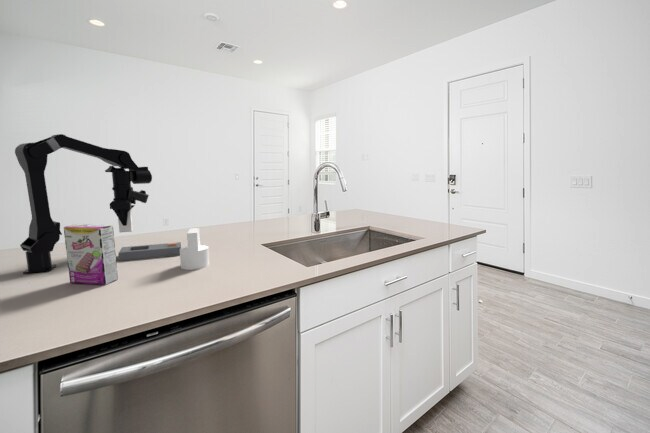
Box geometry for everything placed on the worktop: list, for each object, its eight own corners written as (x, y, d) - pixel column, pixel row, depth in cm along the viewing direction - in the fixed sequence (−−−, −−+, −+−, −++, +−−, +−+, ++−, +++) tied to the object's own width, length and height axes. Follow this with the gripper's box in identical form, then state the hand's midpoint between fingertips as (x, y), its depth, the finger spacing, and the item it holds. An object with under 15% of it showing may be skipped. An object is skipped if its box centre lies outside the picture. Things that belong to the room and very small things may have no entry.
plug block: (131, 231, 120) (129, 210, 119) (119, 232, 118) (117, 210, 117) (133, 230, 123) (131, 209, 122) (121, 230, 122) (119, 209, 120)
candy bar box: (68, 284, 87) (61, 226, 85) (84, 278, 92) (78, 223, 89) (105, 285, 86) (99, 227, 83) (119, 279, 91) (113, 224, 88)
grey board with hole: (198, 253, 120) (197, 243, 120) (119, 261, 109) (118, 250, 109) (197, 247, 128) (196, 238, 128) (123, 254, 117) (122, 245, 117)
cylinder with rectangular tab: (182, 262, 108) (180, 228, 106) (210, 260, 110) (208, 227, 109) (178, 270, 99) (176, 233, 97) (208, 268, 102) (206, 232, 100)
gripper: (144, 185, 113) (147, 227, 115) (148, 183, 130) (151, 220, 132) (107, 185, 108) (111, 229, 111) (116, 183, 125) (120, 221, 127)
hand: (125, 224), depth 120 cm, fingers closed on plug block, 4 cm apart
